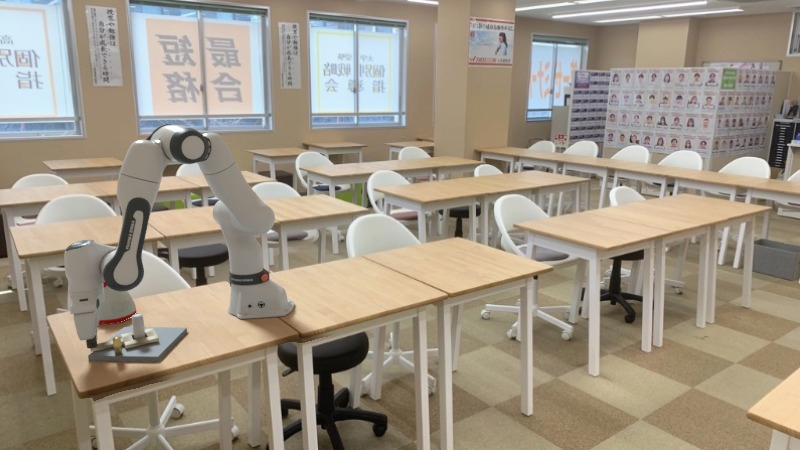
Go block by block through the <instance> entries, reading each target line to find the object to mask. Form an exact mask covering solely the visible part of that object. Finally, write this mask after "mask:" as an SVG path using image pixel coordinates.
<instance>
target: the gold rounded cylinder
mask: <svg viewBox="0 0 800 450" xmlns="http://www.w3.org/2000/svg"><path fill="white" fill-rule="evenodd" d="M113 346H114V353H115V356H119V355H122V354H123V353H122V345H121V337H120V336H116V337H113Z"/></svg>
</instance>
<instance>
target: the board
mask: <svg viewBox="0 0 800 450" xmlns="http://www.w3.org/2000/svg"><path fill="white" fill-rule="evenodd" d="M131 321H132V326H124V327H122V328H121V329H120V330H118V332H116V333H115V334H113V335H112V336H111V337H110V338H108V339H107V340H105V342H108V341H112V340H113V337H116V336H120V337H121V334H125V333H130V332H134V338H133V340H137V339H141V338H146V337H147V336H145V329H149V328H153V329H154V330H155V332H156V334H157V336H158V337H159V341H157V342H153V343H148V344H144V345H140V346H135V347H131V348H125V346H124V345H122V353H123V354H122V355H119V356H115V353H114V347H110V348H106V349H101V350H97V351H92V352H91V353H89V354H88V355H87V359H88V361H89V362H90V361H91V362H92V361H93V362H95V361H96V362H99V361H100V362H160V361H161V360H162V359H163V357H164V356H166V355H167V354H168V352H170V350H171V349H173V347H174V346H175V345H177V343H178V342H179V341H180V340H181V339H182V338H183V337H184V336H185V335H186V334H187V333H188V327H178V326H177V327H172V326H171V327H169V326H168V327H164V326H161V327H160V326H159V327H157V326H155V327H154V326H152V327H151V326H145V322H144V314H142V313H136V314H135V315H133V316H132V318H131ZM121 339H122V338H121Z"/></svg>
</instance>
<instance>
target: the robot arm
mask: <svg viewBox="0 0 800 450" xmlns="http://www.w3.org/2000/svg"><path fill="white" fill-rule="evenodd" d="M171 162H173V163H181V164H183V165H192V164H197V165H198V167H199V170H200V171H201V174H202V176H203V177H204V179H205V181H206V184H208V187H209V189H210V191H211V192H212V194H213V196H215V197H216V198H217V199H218V200H217V202H216V203H215V204H214V206H213V208H212V217H213V219H214V221H215V222H216V224H217V225H218V226H219V228H220V231H221V232H222V235H223V237H224V238H223V239H224V240H225V244H226V247H227V250H228V258H229V273H228V278H229V279H228V281H229V286H230V300H229V305H228V308H227V312H228V313H229V314H230V315H233V316H236V318H238V319H240V320H243V319H247V320H248V319H260V318H261V319H262V318H274V317H275V318H276V317H284V316H288V314H290V313H291V312H292V311H293V309H294V307H295V302H294V300H293V299H289V298H288V294H287V291H286V289H285V287H283V286H281V285H280V284H278V283H277V282H275V281H274V280H272V279H270V273H271V269H268V270H266V269H265V267H264V261H263V259H264V258H263V248H262V246H261V243H260V242H258V240H257V238H256V236H255V235H262V234H263V235H264V234H267V233H269V232H270V231H271V230H272V229H273V227H274V225H275V221H276V219H275V218H276V216H275V212H274V210H273V209H272V207H270V206H269V205H267V204H266V203H265V202H264V201H263V200H262V199H261V198H260V196H259V195H258V194H257V193H256V191H255V190H254V189H253V188H252V187H251V186H250V184H249V183H248V181H247V180H246V178H245V176H244V175H243V173H242V170H241V168H240V166H239V165H238V162H237V161H236V158H235V157H234V155H233V152H232V151H231V149H230V147H229V146H228V144H227V143H226V141H225V140H224V139H223V137H222V136H221V135H220V134H219V133H216V132H211V131H210V132H204V133H201V132H200V131H198V130H197V129H194V128H191V127H189V126H186V125H181V124H170V123H166V124H162V125H160V126H158V127H155V129H154V130H153V131H152V132H151V134H150V135H149V136H147V138H146V139H140V140H136V141H134V142H132V143H131V144H130V145H129V148H128V150H127V151H126V153H125V156H124V159H123V161H122V163H121V167H120V171H119V173H118V178H117V184H116V199H117V202H118V205H119V207H120V211H121V215H122V217H121V218H122V222H121V228H120V233H119V238H118V242H117V246H113V245H106V244H103V243H99V242H97V241H95V240H93V239H84V240H83V239H82V240H79V241H76V242H73V243H71V244H70V245H68V246H67V247H66V249H65V251H64V256H63V257H64V258H63V260H64V261H63V262H64V264H63V265H64V271H65V272H64V273H65V276H66V279H67V281H68V286H67V292H68V297H69V312H70V314H71V315H73V322H74V325H75V330H76V334H77V337H78V340H79V341H86V340H89V339H93V338H94V336H95V335H96V339H97V340H98V327H99V321H100V319H101V316H102V306H101V304H102V303H103V302H104V301H105V293H104V285H103V282H105V283H106V284H107V286H108V287H109V288H111V289H113V290H115V291H128V292H129V291H132V290H133V289H135V288H136V287H138V286H139V285H140V284H141V282H142V281H143V279H144V276H145V269H144V264H143V258H142V257H143V256H142V255H143V250H144V249H143V248H144V244H145V239H146V234H147V230H148V229H147V228H148V225H149V221H150V216H151V214H152V212H153V211H152V210H153V207H154V204H155V201H156V199H157V195H158V193H159V189H160V187H161V182H162V178H163V173H164V171H165V169H166V167H167V166H168V165H169V164H170V163H171Z"/></svg>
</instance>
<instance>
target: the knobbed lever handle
mask: <svg viewBox="0 0 800 450" xmlns="http://www.w3.org/2000/svg"><path fill="white" fill-rule="evenodd" d="M145 336H147V337H146V338H141V339H137V340H133V338H134V332H130V333H125V334H121V338H122V339H121V345H124V346H125V348H131V347H135V346H140V345H144V344H148V343H153V342H157V341H159V337H158V336H157V334H156V332H155V330H154V329H153V328H149V329H145ZM85 343H86V348H87V349H89V350H90V352H91V353H92V352H93V351H97V350H101V349H106V348H110V347H114V346H113V340H112V341H108V342H106V341H104V342H99V343H98V339H96V335H95V336H94V338H93V339H89V340H85Z"/></svg>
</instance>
